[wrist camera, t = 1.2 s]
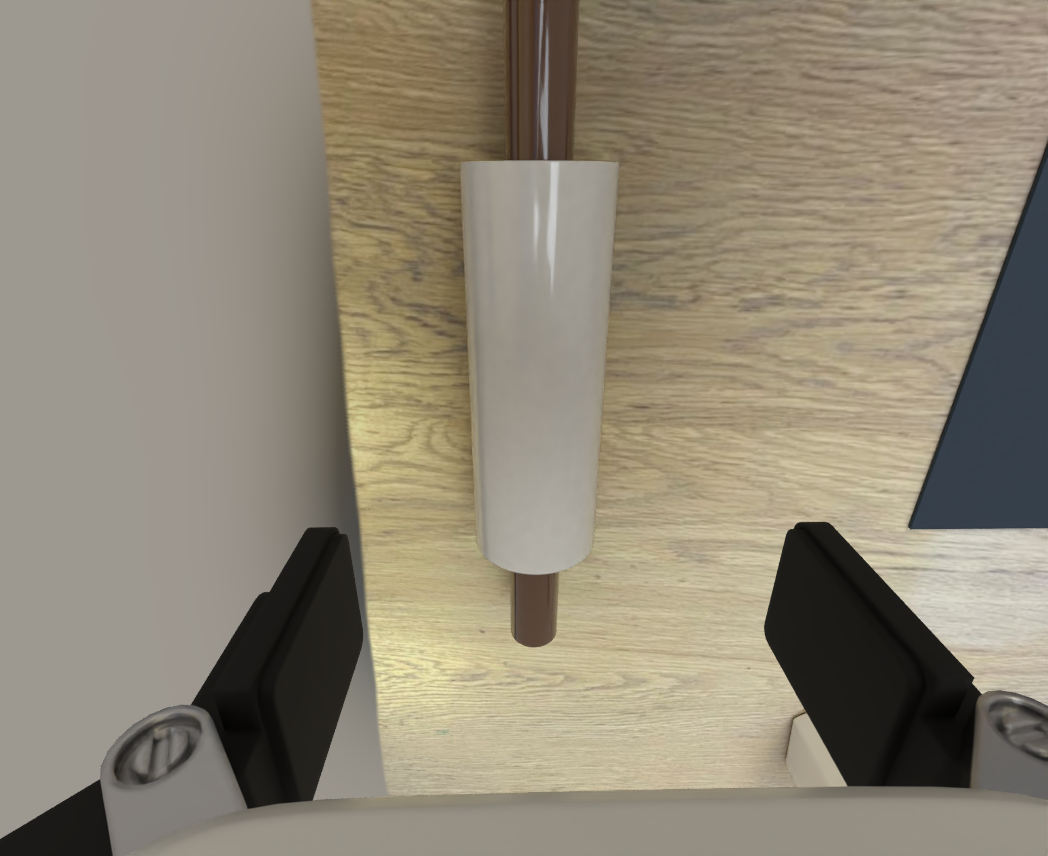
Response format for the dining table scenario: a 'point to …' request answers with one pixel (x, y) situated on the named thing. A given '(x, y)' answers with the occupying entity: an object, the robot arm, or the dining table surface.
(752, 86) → the dining table surface
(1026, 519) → the baking mat
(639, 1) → the dining table surface
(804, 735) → the jar
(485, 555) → the rolling pin
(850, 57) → the dining table surface
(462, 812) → the robot arm
